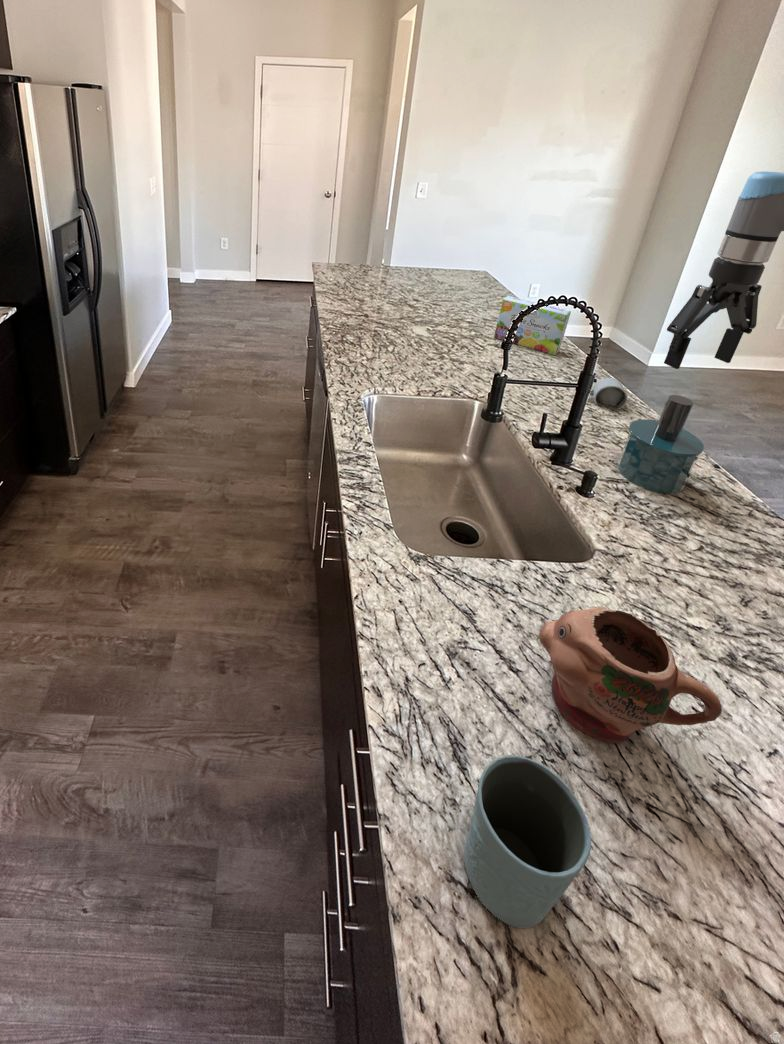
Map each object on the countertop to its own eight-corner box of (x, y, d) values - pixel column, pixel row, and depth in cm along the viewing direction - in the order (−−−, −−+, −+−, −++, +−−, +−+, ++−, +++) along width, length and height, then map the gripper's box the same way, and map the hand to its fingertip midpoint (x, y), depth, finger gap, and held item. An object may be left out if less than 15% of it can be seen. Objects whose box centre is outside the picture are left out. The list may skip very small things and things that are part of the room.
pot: (696, 490, 117) (715, 451, 113) (651, 499, 114) (669, 459, 110) (646, 457, 128) (661, 420, 124) (604, 464, 125) (618, 426, 120)
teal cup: (463, 923, 53) (489, 863, 48) (450, 805, 62) (470, 744, 57) (571, 949, 52) (609, 890, 47) (542, 825, 61) (571, 764, 56)
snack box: (492, 338, 193) (502, 298, 186) (498, 334, 197) (507, 294, 190) (555, 356, 180) (567, 314, 174) (560, 351, 184) (572, 309, 178)
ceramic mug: (617, 401, 153) (626, 377, 150) (622, 414, 146) (631, 389, 143) (576, 393, 157) (583, 370, 153) (579, 406, 150) (586, 382, 147)
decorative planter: (683, 707, 74) (723, 639, 68) (700, 798, 64) (749, 728, 58) (526, 644, 82) (550, 577, 76) (520, 716, 72) (547, 646, 66)
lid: (717, 454, 113) (737, 412, 108) (668, 463, 109) (686, 420, 105) (660, 420, 125) (675, 381, 120) (613, 427, 121) (628, 387, 117)
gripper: (767, 252, 106) (724, 350, 115) (670, 257, 100) (632, 360, 109) (810, 263, 99) (761, 365, 109) (709, 268, 93) (666, 376, 102)
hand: (696, 363), depth 109 cm, fingers open, 13 cm apart
